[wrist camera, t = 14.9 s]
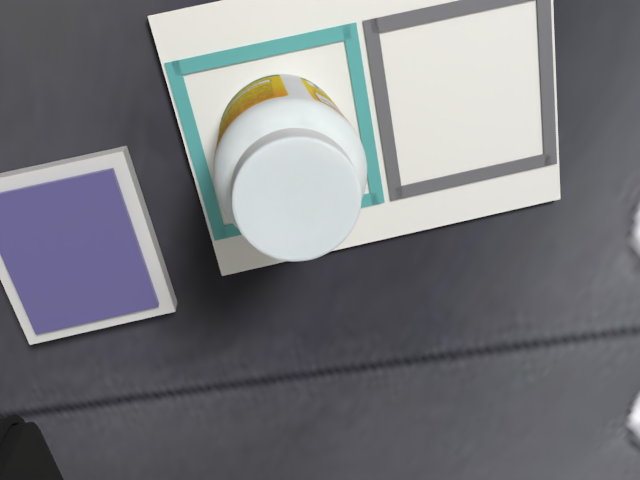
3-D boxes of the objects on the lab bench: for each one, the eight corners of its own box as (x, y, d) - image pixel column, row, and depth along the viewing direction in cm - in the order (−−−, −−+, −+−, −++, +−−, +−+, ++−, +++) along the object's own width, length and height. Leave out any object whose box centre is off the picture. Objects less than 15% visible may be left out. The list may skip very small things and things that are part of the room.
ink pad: (-32, 180, 27) (-45, 189, 26) (126, 145, 27) (121, 152, 26) (36, 334, 30) (27, 348, 29) (177, 301, 30) (174, 314, 29)
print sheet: (148, 15, 25) (146, 16, 25) (545, -68, 26) (551, -69, 25) (221, 272, 30) (221, 277, 30) (556, 196, 31) (561, 199, 30)
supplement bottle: (349, 82, 27) (404, 127, 18) (328, 198, 29) (368, 290, 20) (225, 62, 26) (219, 100, 17) (212, 183, 28) (200, 273, 19)
